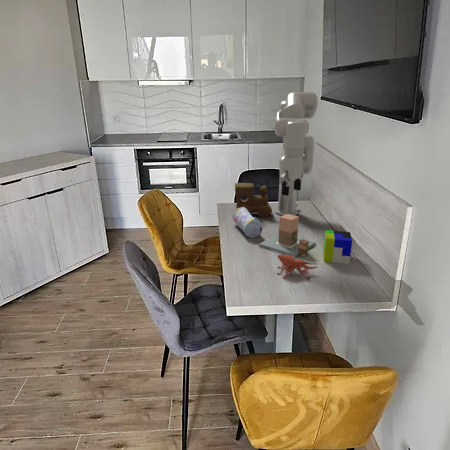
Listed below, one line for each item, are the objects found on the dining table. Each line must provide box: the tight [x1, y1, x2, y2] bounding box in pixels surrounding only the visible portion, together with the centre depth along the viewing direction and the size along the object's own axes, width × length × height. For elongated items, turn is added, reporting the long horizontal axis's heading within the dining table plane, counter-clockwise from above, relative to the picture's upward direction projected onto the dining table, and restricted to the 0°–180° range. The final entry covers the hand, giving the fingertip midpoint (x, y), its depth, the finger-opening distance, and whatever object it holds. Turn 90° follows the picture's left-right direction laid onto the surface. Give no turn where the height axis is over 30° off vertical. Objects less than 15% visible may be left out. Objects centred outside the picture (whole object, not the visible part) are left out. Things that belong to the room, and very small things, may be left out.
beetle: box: [276, 241, 318, 280], centre depth 150 cm, size 15×12×13 cm
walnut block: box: [278, 229, 299, 246], centre depth 176 cm, size 6×6×6 cm
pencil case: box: [232, 207, 263, 238], centre depth 193 cm, size 21×9×10 cm, turn 16°
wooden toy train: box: [234, 182, 273, 218], centre depth 215 cm, size 20×11×17 cm, turn 89°
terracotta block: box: [278, 214, 300, 233], centre depth 174 cm, size 6×6×6 cm
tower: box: [298, 238, 310, 257], centre depth 167 cm, size 3×3×6 cm
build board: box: [258, 233, 317, 258], centre depth 177 cm, size 18×18×1 cm
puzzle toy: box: [322, 229, 353, 265], centre depth 164 cm, size 10×10×10 cm
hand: (291, 192), depth 170 cm, fingers open, 9 cm apart
